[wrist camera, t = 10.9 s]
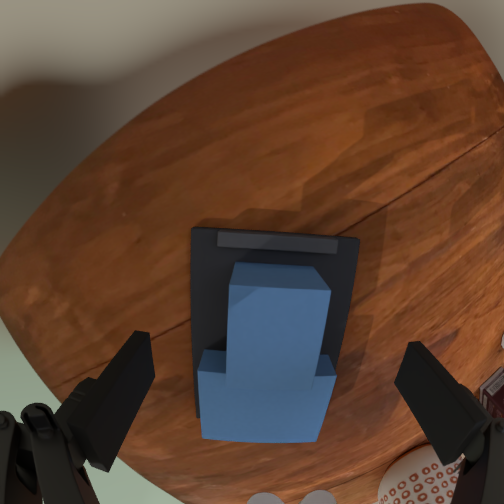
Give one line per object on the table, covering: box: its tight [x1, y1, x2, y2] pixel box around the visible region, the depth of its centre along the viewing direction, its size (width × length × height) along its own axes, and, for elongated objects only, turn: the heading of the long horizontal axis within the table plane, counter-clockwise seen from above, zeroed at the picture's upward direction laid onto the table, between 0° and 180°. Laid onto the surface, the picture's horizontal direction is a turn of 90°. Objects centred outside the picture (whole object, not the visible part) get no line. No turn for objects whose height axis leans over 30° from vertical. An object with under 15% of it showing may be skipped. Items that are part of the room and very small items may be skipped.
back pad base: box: [191, 227, 360, 443], centre depth 20 cm, size 18×12×4 cm, turn 176°
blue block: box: [226, 262, 331, 390], centre depth 18 cm, size 7×6×5 cm
